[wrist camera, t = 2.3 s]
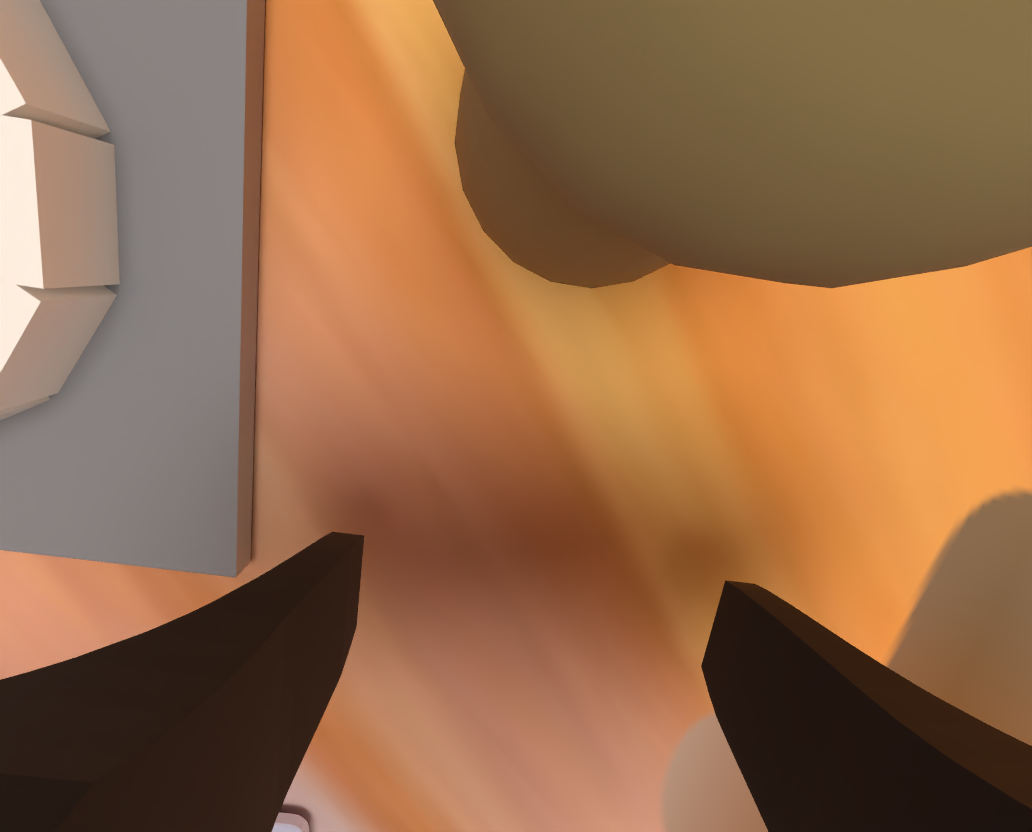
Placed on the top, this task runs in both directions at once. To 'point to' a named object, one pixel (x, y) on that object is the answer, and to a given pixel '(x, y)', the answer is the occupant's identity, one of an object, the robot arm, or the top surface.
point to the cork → (746, 135)
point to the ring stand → (129, 279)
